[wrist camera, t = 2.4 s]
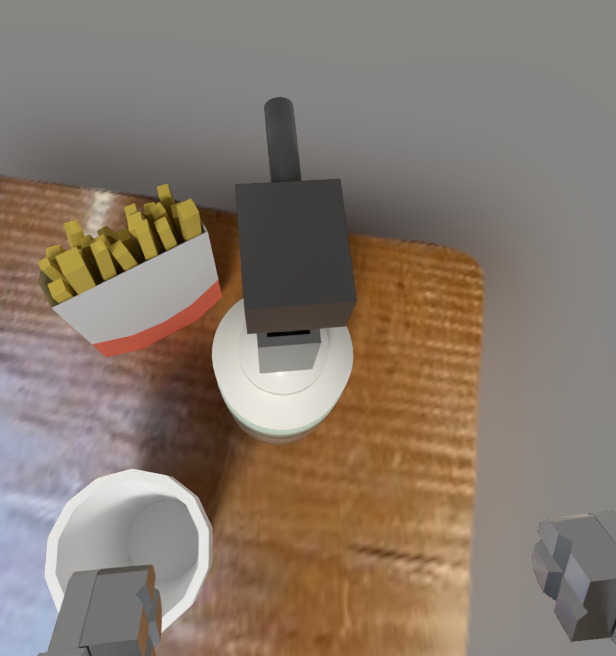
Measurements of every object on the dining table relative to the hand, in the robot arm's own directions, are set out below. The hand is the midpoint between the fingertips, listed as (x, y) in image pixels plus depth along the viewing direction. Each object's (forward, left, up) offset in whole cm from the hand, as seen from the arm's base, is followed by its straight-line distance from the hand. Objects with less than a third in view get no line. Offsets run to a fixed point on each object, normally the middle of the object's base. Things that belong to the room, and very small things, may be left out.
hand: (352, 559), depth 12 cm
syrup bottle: (0, +10, -36) cm, 38 cm away
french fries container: (-10, +18, -36) cm, 42 cm away
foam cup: (-10, -1, -36) cm, 38 cm away
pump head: (0, +12, -15) cm, 20 cm away
